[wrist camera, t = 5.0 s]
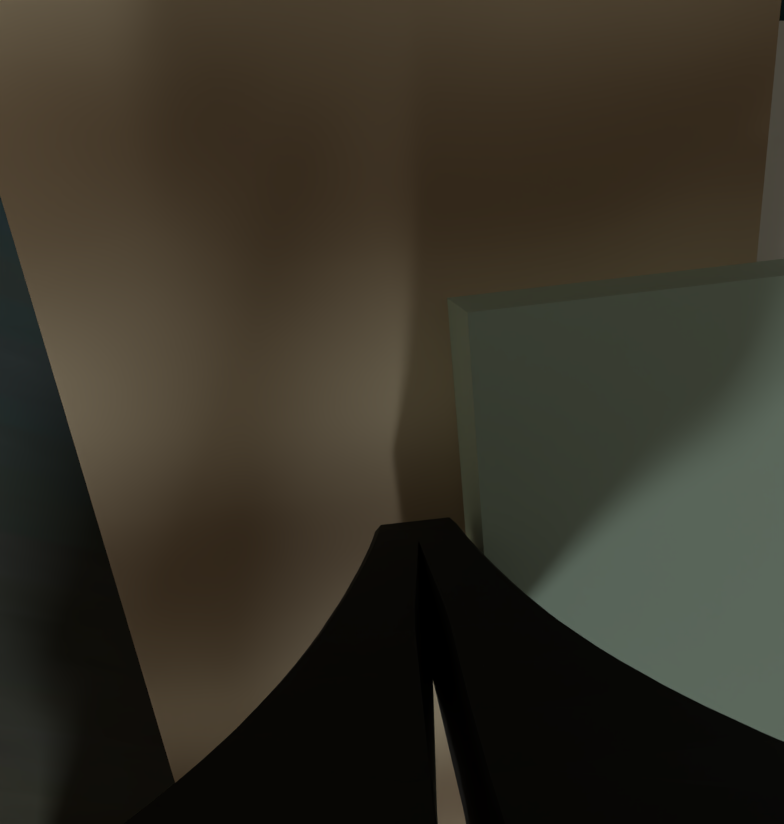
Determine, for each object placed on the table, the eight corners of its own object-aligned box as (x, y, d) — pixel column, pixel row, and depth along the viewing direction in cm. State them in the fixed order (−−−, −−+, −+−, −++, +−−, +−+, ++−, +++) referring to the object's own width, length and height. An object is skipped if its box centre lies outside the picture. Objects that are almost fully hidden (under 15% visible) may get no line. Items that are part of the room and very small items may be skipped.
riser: (627, 731, 17) (699, 869, 14) (250, 772, 17) (216, 922, 14) (653, -16, 11) (794, -142, 8) (76, 47, 11) (-74, -50, 8)
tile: (755, 685, 12) (828, 769, 10) (480, 718, 12) (501, 809, 10) (801, 256, 9) (913, 260, 7) (446, 297, 9) (467, 312, 7)
